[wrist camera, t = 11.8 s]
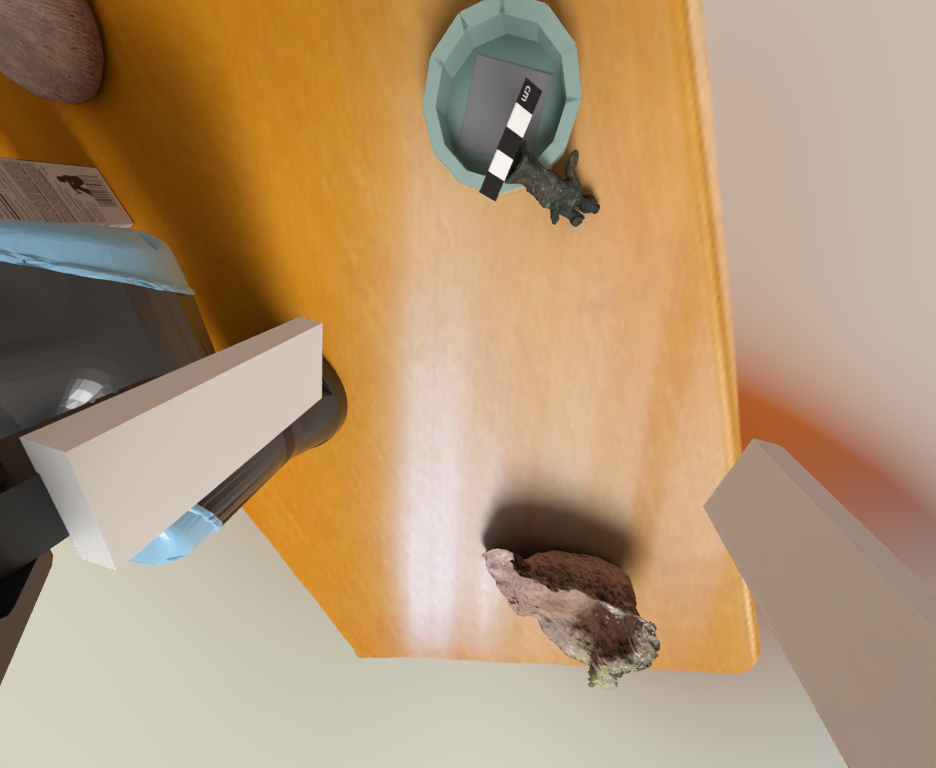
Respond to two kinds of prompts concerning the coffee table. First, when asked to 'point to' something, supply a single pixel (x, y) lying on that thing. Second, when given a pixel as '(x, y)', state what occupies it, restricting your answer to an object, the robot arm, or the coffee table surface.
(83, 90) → the decorative stone
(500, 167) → the figurine
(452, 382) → the coffee table surface
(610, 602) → the rock
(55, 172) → the coffee box
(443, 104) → the bowl
